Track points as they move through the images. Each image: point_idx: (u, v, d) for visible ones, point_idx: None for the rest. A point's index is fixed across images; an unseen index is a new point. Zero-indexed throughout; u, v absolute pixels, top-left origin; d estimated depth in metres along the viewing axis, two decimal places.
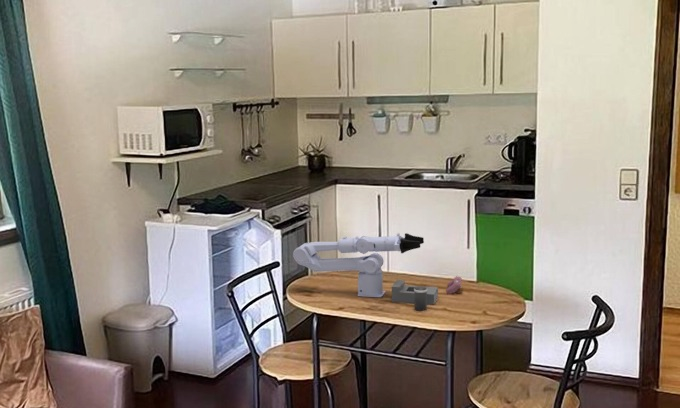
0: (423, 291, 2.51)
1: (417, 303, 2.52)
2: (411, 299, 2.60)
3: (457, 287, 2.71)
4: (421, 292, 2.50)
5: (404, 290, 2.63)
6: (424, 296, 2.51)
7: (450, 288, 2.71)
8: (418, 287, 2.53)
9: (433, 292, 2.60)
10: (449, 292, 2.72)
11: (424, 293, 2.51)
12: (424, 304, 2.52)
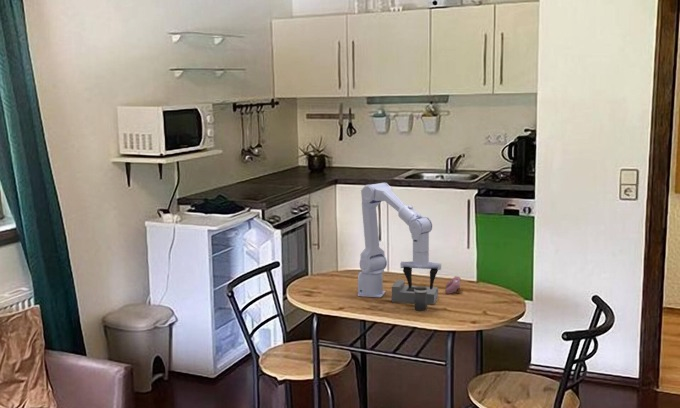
0: (423, 291, 2.51)
1: (417, 303, 2.52)
2: (411, 299, 2.60)
3: (456, 287, 2.71)
4: (421, 292, 2.50)
5: (404, 290, 2.63)
6: (424, 296, 2.51)
7: (449, 288, 2.71)
8: (418, 287, 2.53)
9: (433, 292, 2.60)
10: (448, 291, 2.72)
11: (424, 293, 2.51)
12: (424, 304, 2.52)
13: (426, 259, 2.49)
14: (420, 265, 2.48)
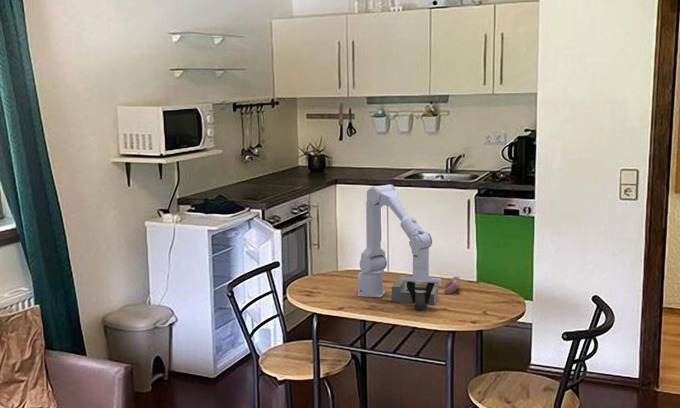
0: (423, 291, 2.51)
1: (417, 303, 2.52)
2: (411, 299, 2.60)
3: (455, 287, 2.71)
4: (421, 292, 2.50)
5: (404, 290, 2.63)
6: (424, 296, 2.51)
7: (448, 288, 2.71)
8: (418, 287, 2.53)
9: (433, 292, 2.60)
10: (447, 291, 2.72)
11: (424, 293, 2.51)
12: (424, 304, 2.52)
13: (426, 274, 2.50)
14: (420, 280, 2.49)
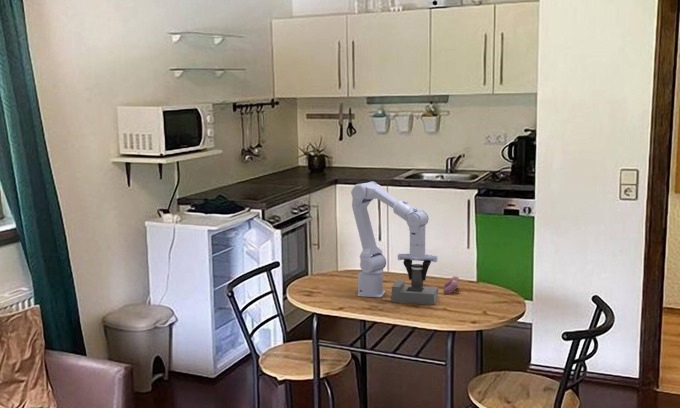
0: (420, 268, 2.56)
1: (414, 280, 2.57)
2: (411, 299, 2.60)
3: (454, 287, 2.71)
4: (418, 269, 2.56)
5: (404, 290, 2.63)
6: (421, 273, 2.56)
7: (447, 288, 2.71)
8: (415, 265, 2.58)
9: (433, 292, 2.60)
10: (446, 292, 2.72)
11: (421, 270, 2.56)
12: (421, 281, 2.57)
13: (422, 251, 2.55)
14: (417, 257, 2.54)
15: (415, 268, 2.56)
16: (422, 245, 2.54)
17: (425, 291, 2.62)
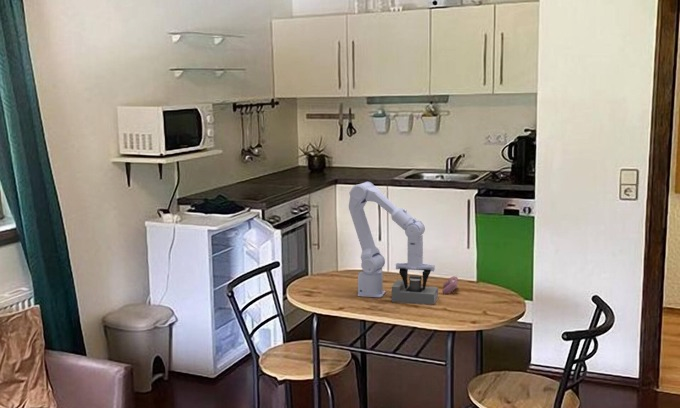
0: (418, 279, 2.62)
1: (412, 291, 2.63)
2: (411, 299, 2.60)
3: (453, 287, 2.71)
4: (416, 280, 2.62)
5: (404, 290, 2.63)
6: (419, 284, 2.62)
7: (446, 288, 2.71)
8: (413, 276, 2.64)
9: (433, 292, 2.60)
10: (445, 291, 2.72)
11: (419, 281, 2.62)
12: None
13: (420, 261, 2.61)
14: (414, 267, 2.60)
15: (413, 279, 2.62)
16: (420, 255, 2.60)
17: (425, 291, 2.62)
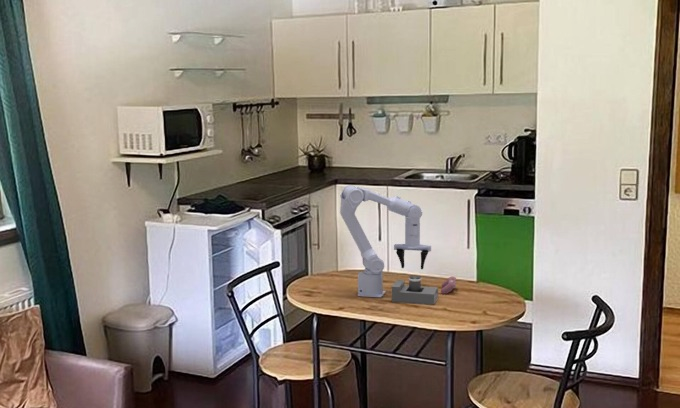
0: (417, 280, 2.62)
1: None
2: (411, 299, 2.60)
3: (452, 287, 2.71)
4: (415, 281, 2.61)
5: (404, 290, 2.63)
6: (418, 285, 2.62)
7: (445, 288, 2.71)
8: (412, 276, 2.64)
9: (433, 292, 2.60)
10: (444, 291, 2.72)
11: (418, 282, 2.62)
12: None
13: (417, 241, 2.71)
14: (412, 247, 2.70)
15: (413, 280, 2.62)
16: (417, 235, 2.71)
17: (425, 291, 2.62)
